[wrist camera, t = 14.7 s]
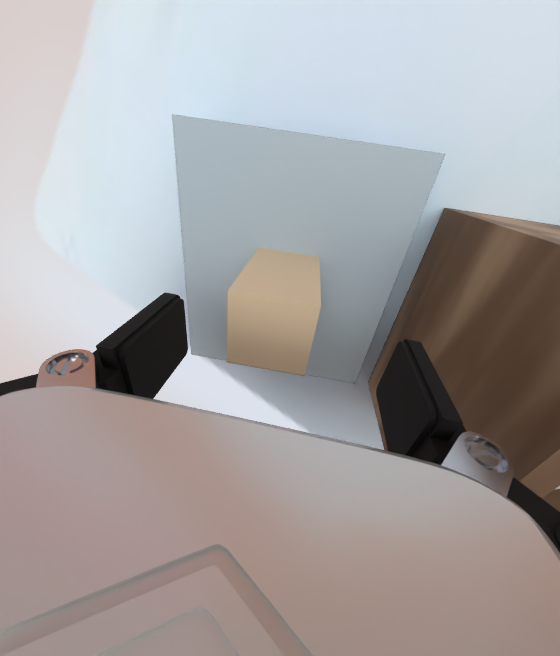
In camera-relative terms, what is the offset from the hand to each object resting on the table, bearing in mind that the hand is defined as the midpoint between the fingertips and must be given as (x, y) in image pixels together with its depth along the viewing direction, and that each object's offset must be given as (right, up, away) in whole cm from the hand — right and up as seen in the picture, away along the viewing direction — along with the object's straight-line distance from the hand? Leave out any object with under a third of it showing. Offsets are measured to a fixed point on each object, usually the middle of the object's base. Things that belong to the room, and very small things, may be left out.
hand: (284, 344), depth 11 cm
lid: (0, +5, +8) cm, 10 cm away
